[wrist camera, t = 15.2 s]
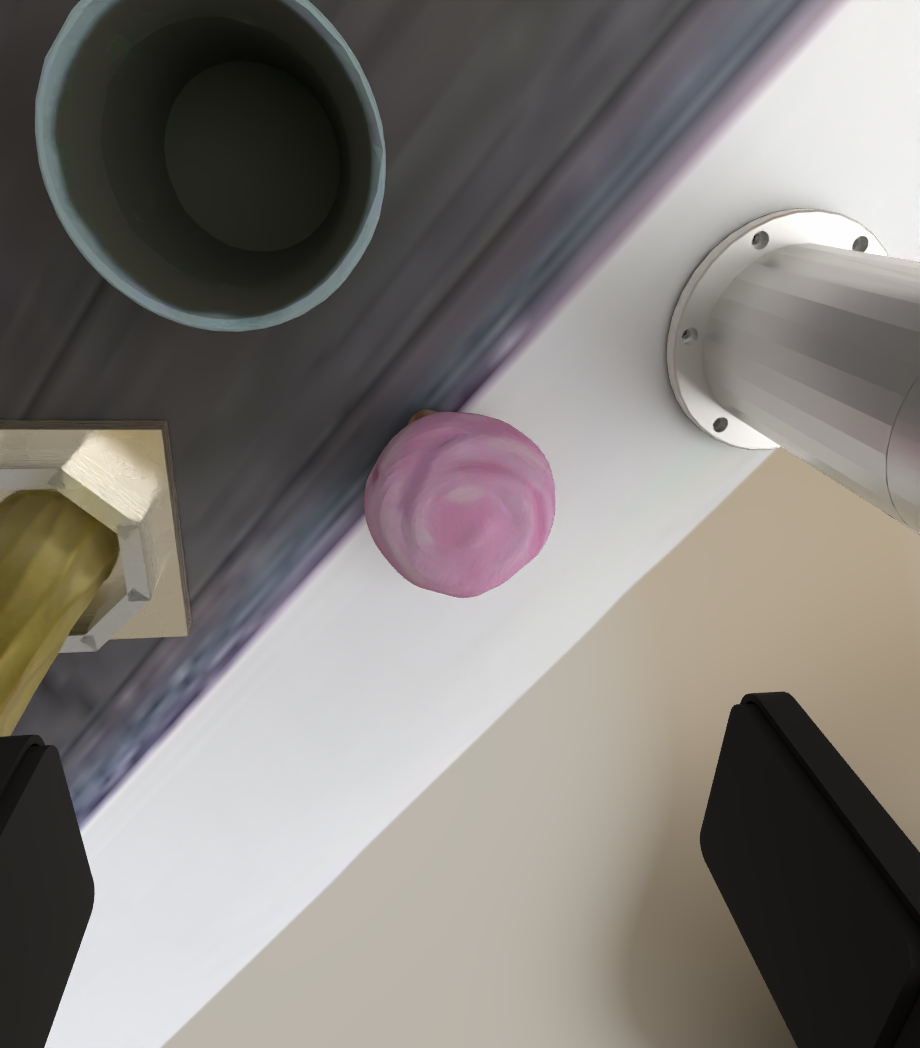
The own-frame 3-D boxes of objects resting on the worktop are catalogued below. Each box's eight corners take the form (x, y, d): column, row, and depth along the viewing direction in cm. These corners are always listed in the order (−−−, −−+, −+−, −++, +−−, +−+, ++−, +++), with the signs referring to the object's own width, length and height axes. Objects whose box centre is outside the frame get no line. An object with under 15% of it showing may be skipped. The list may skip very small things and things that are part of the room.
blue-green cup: (169, 292, 34) (97, 351, 24) (99, 35, 30) (-30, -33, 19) (384, 264, 35) (407, 310, 25) (349, 12, 31) (358, -66, 20)
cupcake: (543, 402, 40) (604, 472, 31) (491, 541, 43) (533, 640, 34) (384, 357, 37) (399, 419, 28) (342, 508, 41) (344, 605, 32)
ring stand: (167, 420, 37) (150, 447, 33) (192, 620, 42) (179, 663, 39) (-98, 419, 35) (-147, 448, 31) (-38, 629, 40) (-73, 675, 37)
